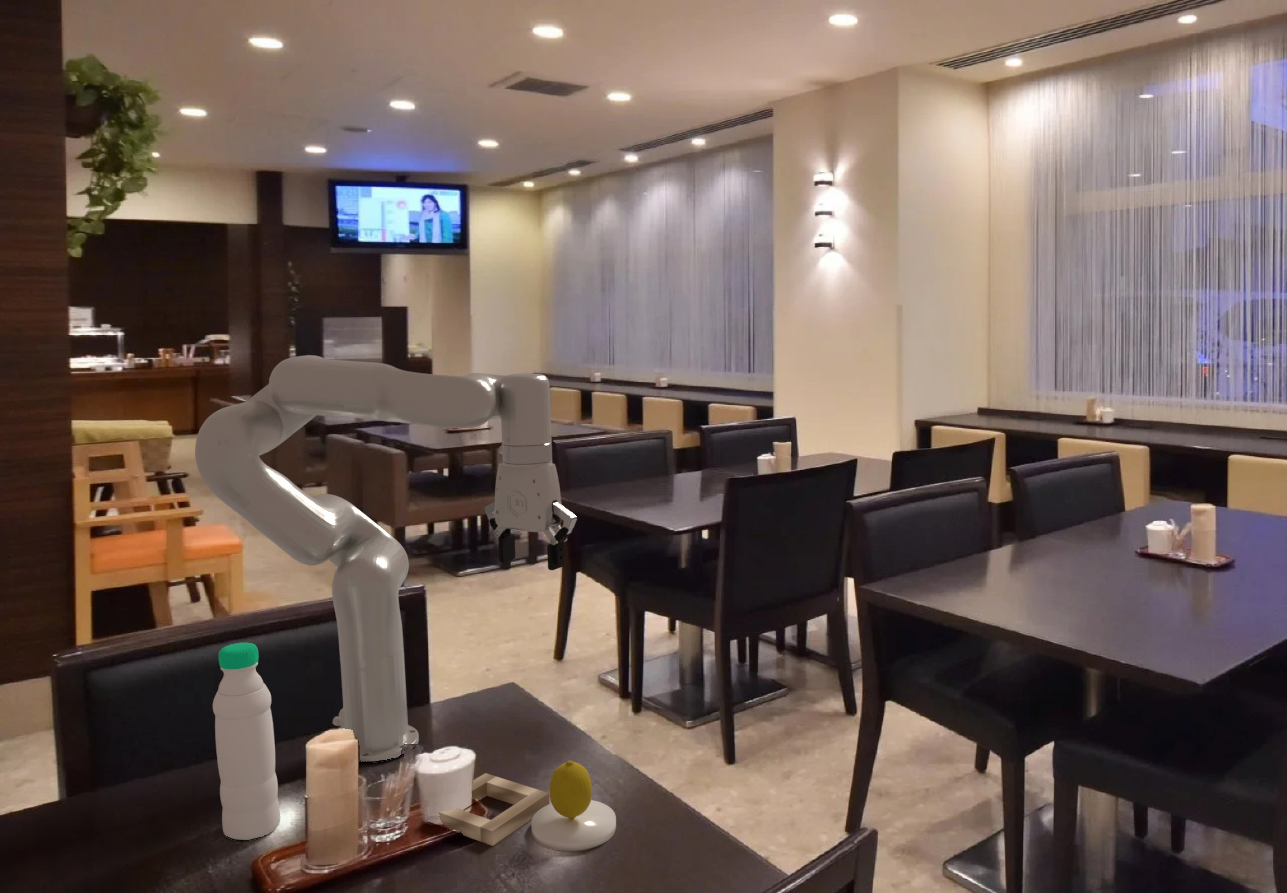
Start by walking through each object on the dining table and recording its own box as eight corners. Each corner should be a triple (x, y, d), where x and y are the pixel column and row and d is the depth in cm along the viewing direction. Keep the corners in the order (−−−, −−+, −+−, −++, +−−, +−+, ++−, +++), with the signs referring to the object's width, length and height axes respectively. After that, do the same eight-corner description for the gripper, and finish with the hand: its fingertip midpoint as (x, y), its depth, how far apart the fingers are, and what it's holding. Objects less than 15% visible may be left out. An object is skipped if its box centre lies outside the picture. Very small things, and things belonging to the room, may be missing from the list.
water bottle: (292, 822, 130) (279, 642, 127) (248, 848, 124) (233, 659, 121) (255, 811, 133) (241, 634, 130) (211, 835, 127) (195, 651, 124)
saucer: (514, 836, 126) (513, 827, 125) (566, 799, 135) (565, 791, 135) (582, 860, 120) (582, 851, 120) (632, 820, 129) (632, 812, 129)
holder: (427, 822, 130) (426, 807, 129) (486, 786, 139) (485, 773, 139) (492, 846, 123) (492, 831, 123) (549, 807, 133) (548, 793, 133)
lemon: (586, 832, 124) (585, 772, 123) (545, 828, 125) (543, 769, 124) (597, 810, 129) (596, 753, 128) (557, 806, 130) (555, 750, 129)
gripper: (468, 454, 150) (473, 563, 152) (556, 462, 141) (560, 577, 143) (500, 448, 156) (504, 552, 159) (587, 455, 147) (590, 565, 149)
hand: (531, 564), depth 151 cm, fingers open, 9 cm apart
